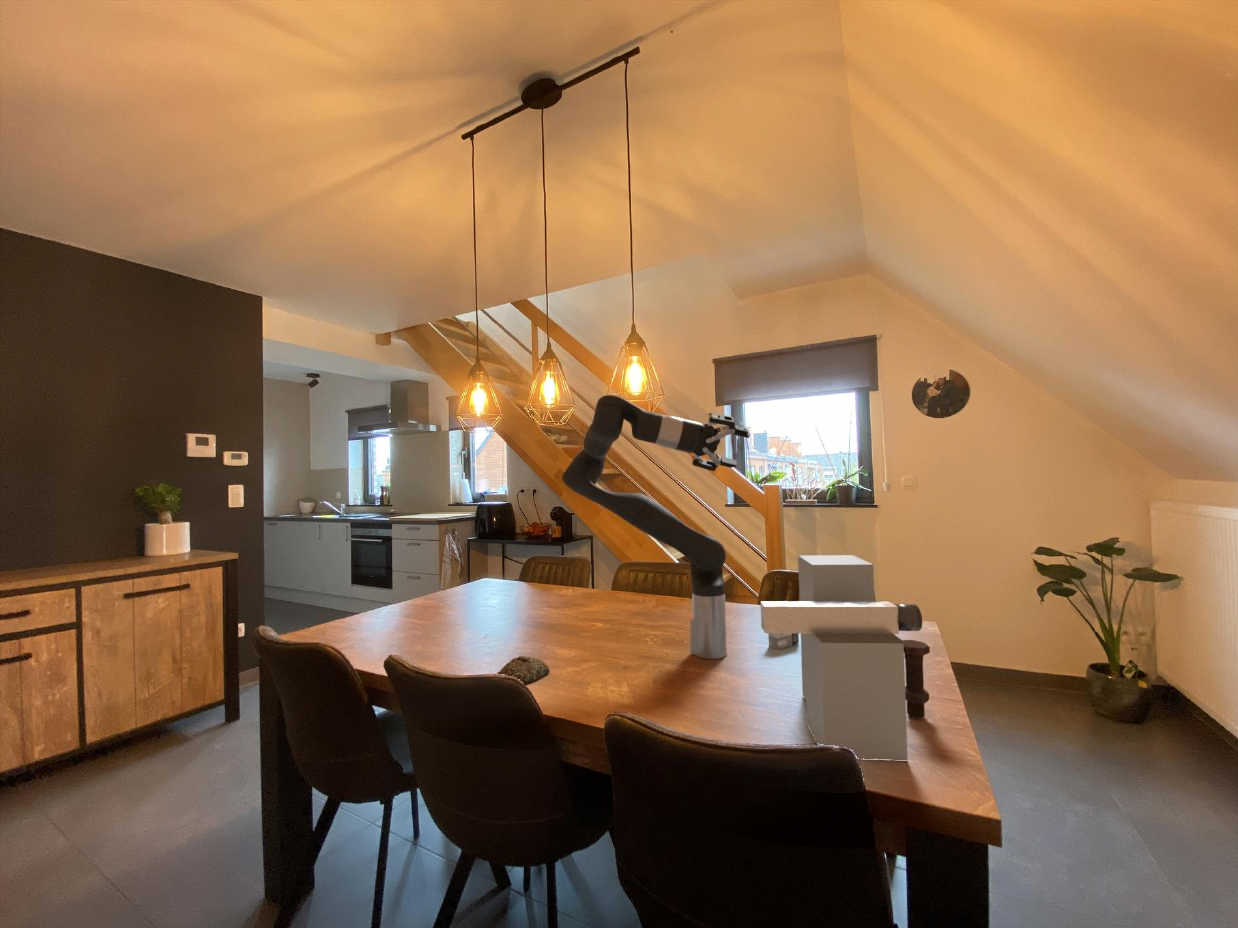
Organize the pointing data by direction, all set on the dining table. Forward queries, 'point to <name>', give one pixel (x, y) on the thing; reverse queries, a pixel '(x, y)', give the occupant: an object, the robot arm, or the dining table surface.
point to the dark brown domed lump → (525, 669)
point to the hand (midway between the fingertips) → (742, 449)
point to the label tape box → (782, 640)
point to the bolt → (915, 677)
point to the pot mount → (851, 667)
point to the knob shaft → (839, 617)
